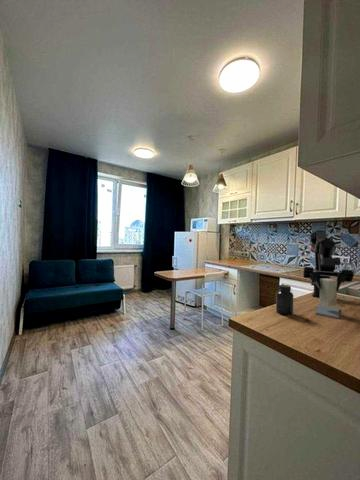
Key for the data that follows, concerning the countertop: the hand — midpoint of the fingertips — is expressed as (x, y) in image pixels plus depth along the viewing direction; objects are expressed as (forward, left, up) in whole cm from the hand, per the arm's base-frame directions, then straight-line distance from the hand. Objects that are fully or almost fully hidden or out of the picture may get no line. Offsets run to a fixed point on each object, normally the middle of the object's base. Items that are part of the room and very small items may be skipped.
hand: (328, 289), depth 91 cm
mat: (-2, 0, -10) cm, 11 cm away
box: (-1, 0, -7) cm, 7 cm away
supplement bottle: (+12, -15, -11) cm, 22 cm away
